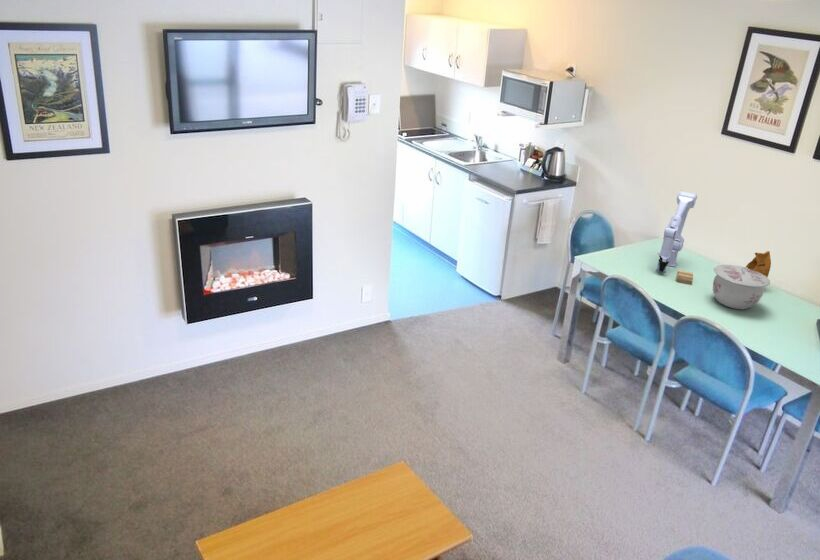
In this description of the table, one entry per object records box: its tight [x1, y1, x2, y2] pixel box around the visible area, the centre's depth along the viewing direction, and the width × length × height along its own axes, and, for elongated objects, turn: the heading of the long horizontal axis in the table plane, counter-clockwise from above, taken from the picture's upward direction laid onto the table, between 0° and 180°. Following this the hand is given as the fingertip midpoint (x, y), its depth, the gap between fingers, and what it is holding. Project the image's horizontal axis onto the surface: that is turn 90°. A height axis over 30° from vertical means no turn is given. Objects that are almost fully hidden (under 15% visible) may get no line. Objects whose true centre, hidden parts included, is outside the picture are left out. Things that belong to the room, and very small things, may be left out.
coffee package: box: [745, 250, 772, 278], centre depth 373 cm, size 10×12×22 cm
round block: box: [655, 262, 668, 274], centre depth 387 cm, size 5×5×4 cm
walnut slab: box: [676, 278, 693, 286], centre depth 378 cm, size 8×8×2 cm
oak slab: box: [676, 269, 694, 283], centre depth 377 cm, size 8×8×2 cm
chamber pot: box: [712, 264, 771, 310], centre depth 351 cm, size 28×28×21 cm
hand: (661, 269), depth 388 cm, fingers open, 7 cm apart
